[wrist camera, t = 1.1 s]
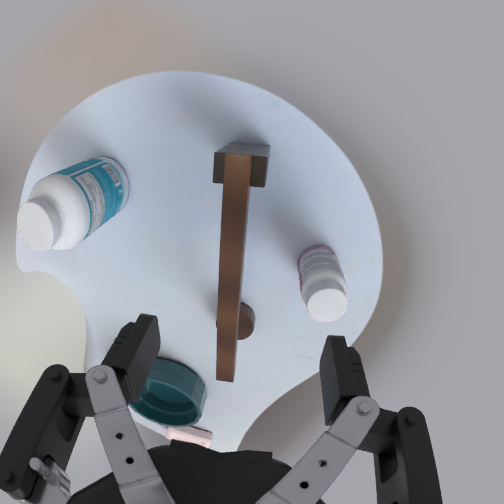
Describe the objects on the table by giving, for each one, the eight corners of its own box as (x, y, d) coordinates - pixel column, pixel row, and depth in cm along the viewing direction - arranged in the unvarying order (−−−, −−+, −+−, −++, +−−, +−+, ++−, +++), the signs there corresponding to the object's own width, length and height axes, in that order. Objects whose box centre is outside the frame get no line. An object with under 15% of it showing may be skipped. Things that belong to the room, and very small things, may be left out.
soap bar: (170, 418, 52) (167, 428, 50) (214, 432, 53) (212, 442, 51) (166, 429, 55) (164, 438, 52) (207, 442, 55) (206, 451, 53)
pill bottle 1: (76, 201, 34) (5, 245, 22) (88, 147, 31) (9, 173, 19) (122, 224, 35) (60, 280, 23) (139, 168, 32) (69, 205, 20)
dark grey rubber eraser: (267, 167, 31) (264, 188, 23) (229, 164, 31) (212, 183, 23) (270, 145, 30) (267, 156, 22) (231, 141, 30) (214, 152, 22)
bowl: (118, 361, 46) (107, 381, 41) (181, 349, 43) (173, 373, 39) (158, 407, 51) (151, 428, 46) (219, 401, 48) (215, 424, 43)
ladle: (253, 332, 40) (246, 394, 31) (218, 328, 41) (202, 388, 31) (274, 143, 30) (273, 156, 20) (227, 138, 30) (203, 151, 20)
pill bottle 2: (289, 259, 35) (292, 300, 28) (324, 237, 34) (337, 274, 26) (311, 288, 37) (318, 333, 29) (344, 268, 35) (360, 310, 28)
